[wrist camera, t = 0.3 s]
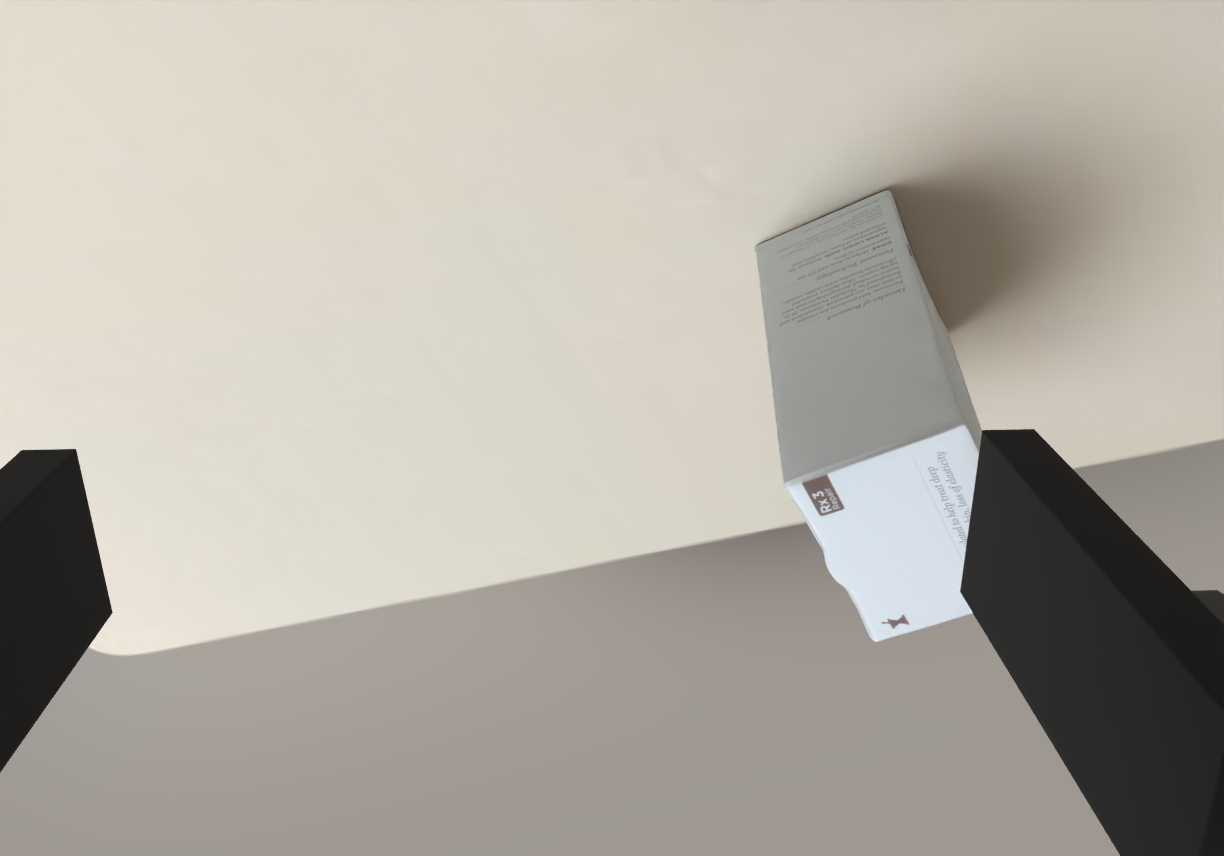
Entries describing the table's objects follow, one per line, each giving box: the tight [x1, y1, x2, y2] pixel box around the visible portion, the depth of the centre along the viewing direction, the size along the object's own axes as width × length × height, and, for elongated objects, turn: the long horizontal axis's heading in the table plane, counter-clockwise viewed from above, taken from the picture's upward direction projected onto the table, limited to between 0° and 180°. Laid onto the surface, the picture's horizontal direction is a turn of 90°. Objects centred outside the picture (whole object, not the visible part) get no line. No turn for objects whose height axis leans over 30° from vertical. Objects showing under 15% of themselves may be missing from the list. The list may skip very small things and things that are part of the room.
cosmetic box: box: [755, 190, 982, 642], centre depth 39 cm, size 8×6×15 cm
